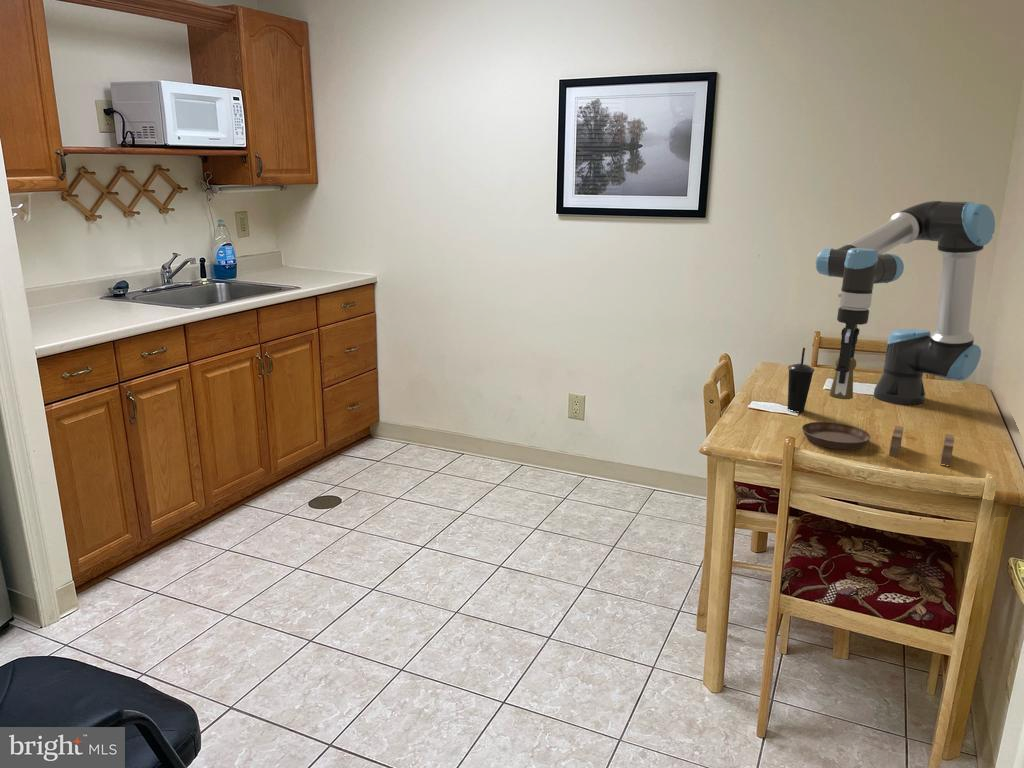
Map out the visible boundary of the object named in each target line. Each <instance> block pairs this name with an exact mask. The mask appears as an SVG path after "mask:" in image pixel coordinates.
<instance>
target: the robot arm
mask: <svg viewBox="0 0 1024 768" xmlns="http://www.w3.org/2000/svg"><path fill="white" fill-rule="evenodd" d="M995 229H996V218H995V215H994V212H993V210H992V208H991V207H990V206H989V205H987V204H985V203H979V202H978V203H977V202H973V201H944V200H943V201H941V200H931V201H926V202H922V203H919V204H915V205H913V206H909V207H907V208H905V209H903V210H901V211H899V212H896V213H895V214H893V215H892V216H891V217H890V219H889V220H888V221H887V222H886V223H884V224H881V225H879V226H878V227H876V228H874V229H873V230H871V231H869V232H867V233H864V234H863V235H862V236H859V237H857V238H856V239H854V240H853V241H851V242H849V243H846V244H845V245H842V246H841V247H839V248H824V249H822V250H820V251H819V252H818V254H817V257H816V258H815V269H816V271H817V272H818V274H819V275H824V276H826V277H827V276H828V277H830V278H831V277H834V278H841V279H842V283H841V284H842V286H841V289H840V293H838V294H837V297H838V298H840V299H839V303H838V304H839V306H840V307H838V309H837V310H838V311H837V316H836V320H837V322H839V323H841V324H845V326H844V327H843V329H841V333H840V335H841V341H840V350H839V356H838V357H839V363H838V367H836V368H835V370H834V371H835V372H836V371H838V375H837V381H836V388H835V394H838V393H839V392H841V393H842V395H846V389H847V383H848V377H849V372H848V371H849V365H850V359H851V357H852V358H854V359H855V351H856V347H857V346H856V345H857V343H858V339H859V337H858V336H859V334H860V329H859V327H858V326H859V325H860V326H861V325H863V326H864V325H866V324H868V322H869V316H870V310H869V309H870V308H871V305H872V300H873V299H872V297H873V289H874V284H875V285H876V284H889V283H891V282H895V281H897V280H899V279H900V278H901V276H902V275H903V273H904V269H905V266H904V265H905V264H904V262H903V260H902V258H901V257H900V256H899V255H896V254H891V253H888V252H889V251H890V250H892V249H894V248H896V247H898V246H900V245H902V244H903V245H904V244H910V243H912V242H914V241H930V242H937V251H938V252H939V253H941V255H942V260H941V261H942V262H941V273H940V284H939V285H940V286H939V296H938V297H939V298H938V309H937V321H936V330H935V331H933V332H932V333H931V331H930V330H927V329H919V328H917V329H916V328H915V329H913V328H907V329H905V328H904V329H897V330H893V331H891V332H890V333H889V335H888V341H887V343H886V353H885V356H884V357H885V358H884V363H883V365H884V366H883V371H882V374H881V375H880V376H881V377H880V378H879V380H878V382H877V383H876V385H875V387H874V391H873V396H874V398H877V400H878V399H879V400H880V401H884V402H888V403H892V404H897V405H898V404H899V405H908V406H909V405H910V406H913V405H915V406H917V405H921V404H924V403H925V401H926V400H925V399H926V392H925V391H926V390H925V387H924V381H923V375H924V374H928V375H933V376H935V377H940V378H944V379H947V380H954V381H955V380H956V381H964V380H966V379H968V378H969V377H970V376H971V375H972V374H973V373H974V372H975V370H976V369H977V367H978V365H979V363H980V361H981V355H982V349H981V346H979V345H977V344H974V340H975V336H974V334H972V333H971V332H970V325H971V324H970V322H971V313H972V305H973V304H972V302H973V292H974V291H973V290H974V283H975V273H976V264H977V255H978V254H980V252H982V251H983V250H984V247H985V246H986V245H988V244H989V243H990V242H991V240H992V239H993V235H994V234H995Z"/></svg>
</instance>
